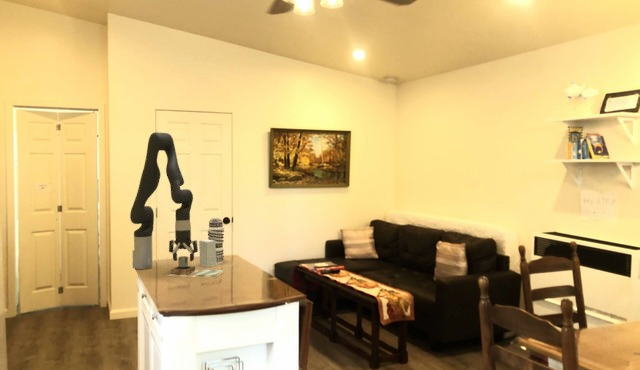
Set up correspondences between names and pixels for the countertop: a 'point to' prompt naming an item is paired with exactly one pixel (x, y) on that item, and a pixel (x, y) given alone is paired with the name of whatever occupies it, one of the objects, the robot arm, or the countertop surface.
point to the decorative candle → (217, 237)
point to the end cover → (183, 262)
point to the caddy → (194, 272)
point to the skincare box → (207, 253)
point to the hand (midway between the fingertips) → (183, 260)
